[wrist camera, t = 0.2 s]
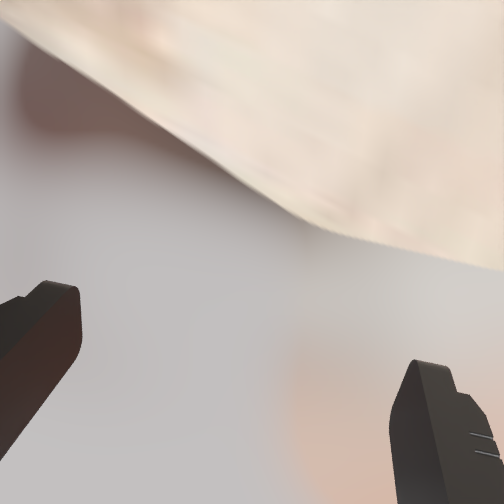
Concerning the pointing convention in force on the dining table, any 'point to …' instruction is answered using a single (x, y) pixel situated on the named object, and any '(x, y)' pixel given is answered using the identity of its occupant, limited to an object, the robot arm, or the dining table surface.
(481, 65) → the dining table surface
